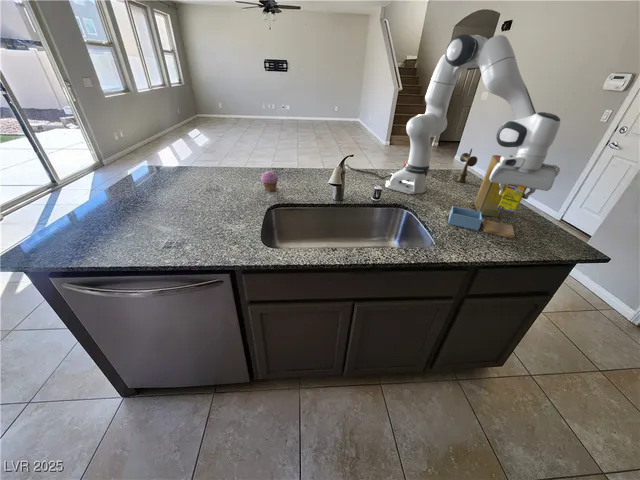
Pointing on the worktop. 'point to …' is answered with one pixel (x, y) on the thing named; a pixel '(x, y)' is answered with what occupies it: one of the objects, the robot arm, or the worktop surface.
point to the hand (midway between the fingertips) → (512, 196)
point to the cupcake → (269, 180)
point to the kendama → (466, 165)
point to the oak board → (498, 228)
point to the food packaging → (489, 193)
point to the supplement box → (511, 198)
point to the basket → (465, 218)
